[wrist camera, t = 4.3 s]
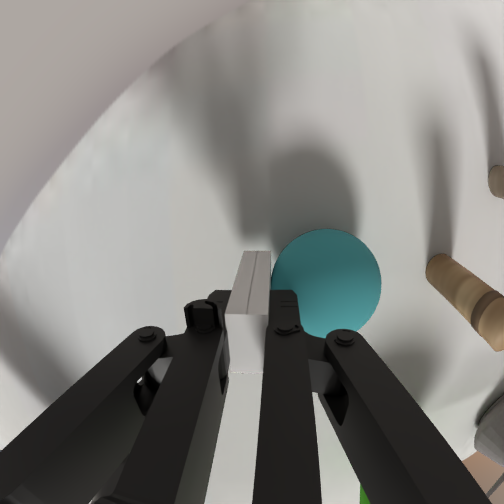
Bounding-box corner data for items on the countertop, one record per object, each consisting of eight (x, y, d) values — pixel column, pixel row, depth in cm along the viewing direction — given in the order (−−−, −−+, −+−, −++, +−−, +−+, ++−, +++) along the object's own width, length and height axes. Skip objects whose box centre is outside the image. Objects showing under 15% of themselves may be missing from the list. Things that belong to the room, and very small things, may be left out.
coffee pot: (535, 362, 20) (588, 432, 6) (521, 407, 23) (557, 469, 9) (399, 446, 25) (426, 548, 10) (405, 475, 27) (424, 553, 13)
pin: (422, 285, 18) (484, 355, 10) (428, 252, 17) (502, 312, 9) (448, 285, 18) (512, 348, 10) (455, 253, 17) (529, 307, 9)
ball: (253, 350, 15) (367, 371, 12) (249, 238, 13) (386, 248, 11) (290, 304, 20) (376, 316, 17) (291, 218, 18) (386, 224, 16)
